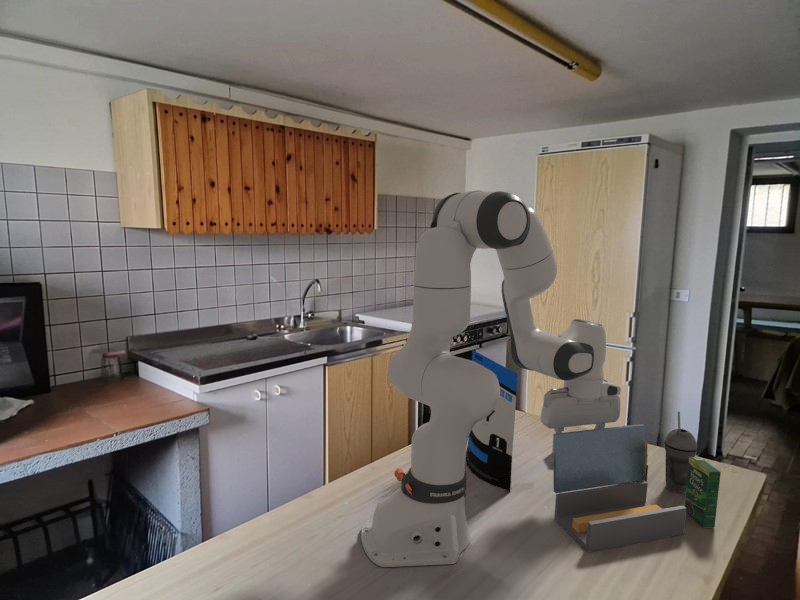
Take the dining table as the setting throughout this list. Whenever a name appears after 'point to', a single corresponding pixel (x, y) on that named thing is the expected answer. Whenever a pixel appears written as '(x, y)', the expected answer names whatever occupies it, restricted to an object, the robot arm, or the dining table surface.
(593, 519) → the amber wooden bar
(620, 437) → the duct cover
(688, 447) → the beverage cup
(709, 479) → the coffee box
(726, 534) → the dining table surface
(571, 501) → the duct trough
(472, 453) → the protein powder
